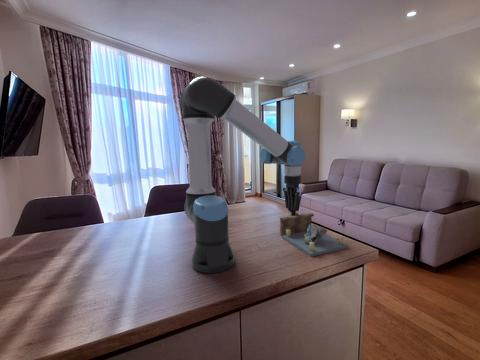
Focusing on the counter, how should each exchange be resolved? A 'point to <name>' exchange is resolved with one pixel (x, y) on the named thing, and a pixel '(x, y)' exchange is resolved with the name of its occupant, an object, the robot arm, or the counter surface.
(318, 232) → the mineral specimen
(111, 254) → the counter surface
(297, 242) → the base
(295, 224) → the panel
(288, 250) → the counter surface
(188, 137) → the robot arm
